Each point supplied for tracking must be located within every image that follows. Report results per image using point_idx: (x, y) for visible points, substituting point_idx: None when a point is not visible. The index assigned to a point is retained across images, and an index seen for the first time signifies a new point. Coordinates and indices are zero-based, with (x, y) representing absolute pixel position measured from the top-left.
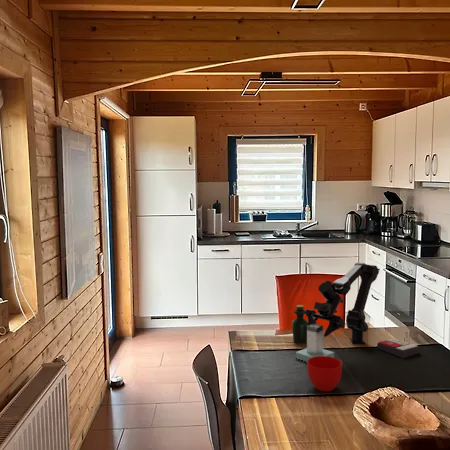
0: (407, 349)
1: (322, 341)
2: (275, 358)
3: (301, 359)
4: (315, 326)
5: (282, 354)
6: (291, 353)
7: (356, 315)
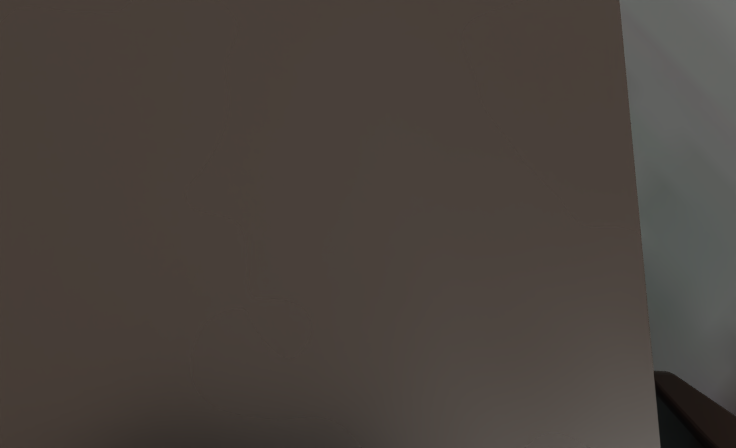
0: None
1: None
2: (649, 28)
3: None
4: (161, 137)
5: (698, 191)
6: (652, 305)
7: None
